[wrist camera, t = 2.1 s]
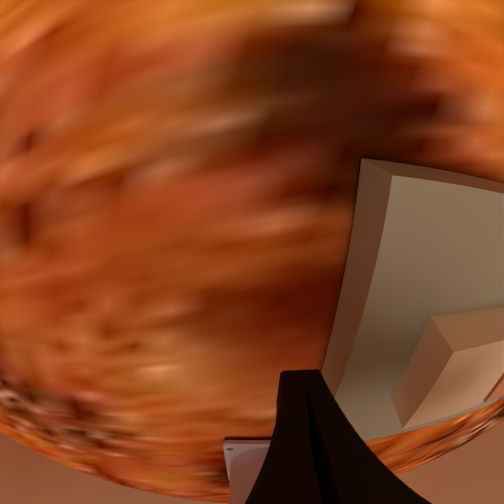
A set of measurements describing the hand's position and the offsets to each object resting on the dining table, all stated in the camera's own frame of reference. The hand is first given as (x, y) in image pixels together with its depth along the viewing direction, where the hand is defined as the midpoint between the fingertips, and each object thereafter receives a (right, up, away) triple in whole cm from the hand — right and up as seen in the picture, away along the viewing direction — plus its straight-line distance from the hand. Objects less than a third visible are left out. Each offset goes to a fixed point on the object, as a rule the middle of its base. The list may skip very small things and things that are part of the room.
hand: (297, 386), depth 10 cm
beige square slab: (+10, +1, +3) cm, 10 cm away
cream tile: (+8, 0, +1) cm, 8 cm away
